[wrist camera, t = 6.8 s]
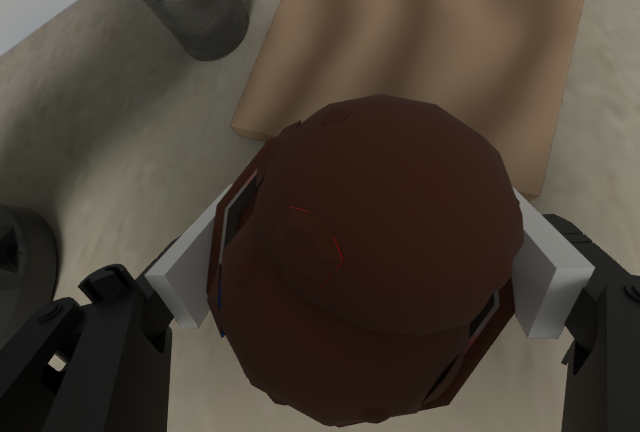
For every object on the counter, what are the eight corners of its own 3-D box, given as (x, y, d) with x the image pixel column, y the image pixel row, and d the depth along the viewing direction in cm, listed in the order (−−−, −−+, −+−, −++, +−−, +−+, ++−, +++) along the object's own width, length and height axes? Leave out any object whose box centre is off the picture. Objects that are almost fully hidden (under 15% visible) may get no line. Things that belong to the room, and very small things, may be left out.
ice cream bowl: (312, 172, 21) (169, -58, 6) (464, 215, 18) (835, -33, 3) (262, 304, 19) (-68, 394, 5) (417, 374, 16) (708, 1086, 2)
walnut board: (238, 135, 23) (229, 126, 21) (292, 0, 25) (287, -17, 23) (526, 202, 17) (539, 196, 16) (568, 19, 19) (584, -1, 17)
